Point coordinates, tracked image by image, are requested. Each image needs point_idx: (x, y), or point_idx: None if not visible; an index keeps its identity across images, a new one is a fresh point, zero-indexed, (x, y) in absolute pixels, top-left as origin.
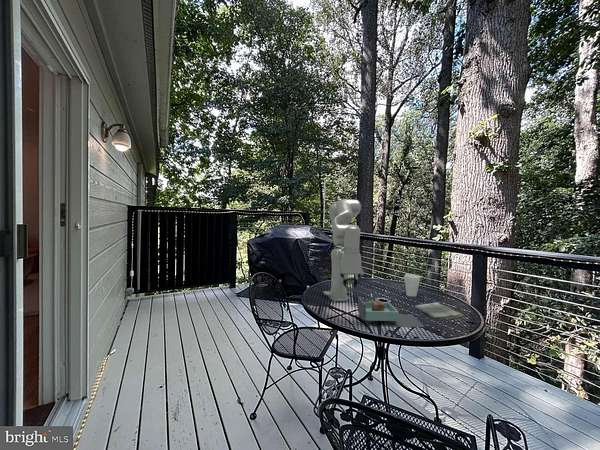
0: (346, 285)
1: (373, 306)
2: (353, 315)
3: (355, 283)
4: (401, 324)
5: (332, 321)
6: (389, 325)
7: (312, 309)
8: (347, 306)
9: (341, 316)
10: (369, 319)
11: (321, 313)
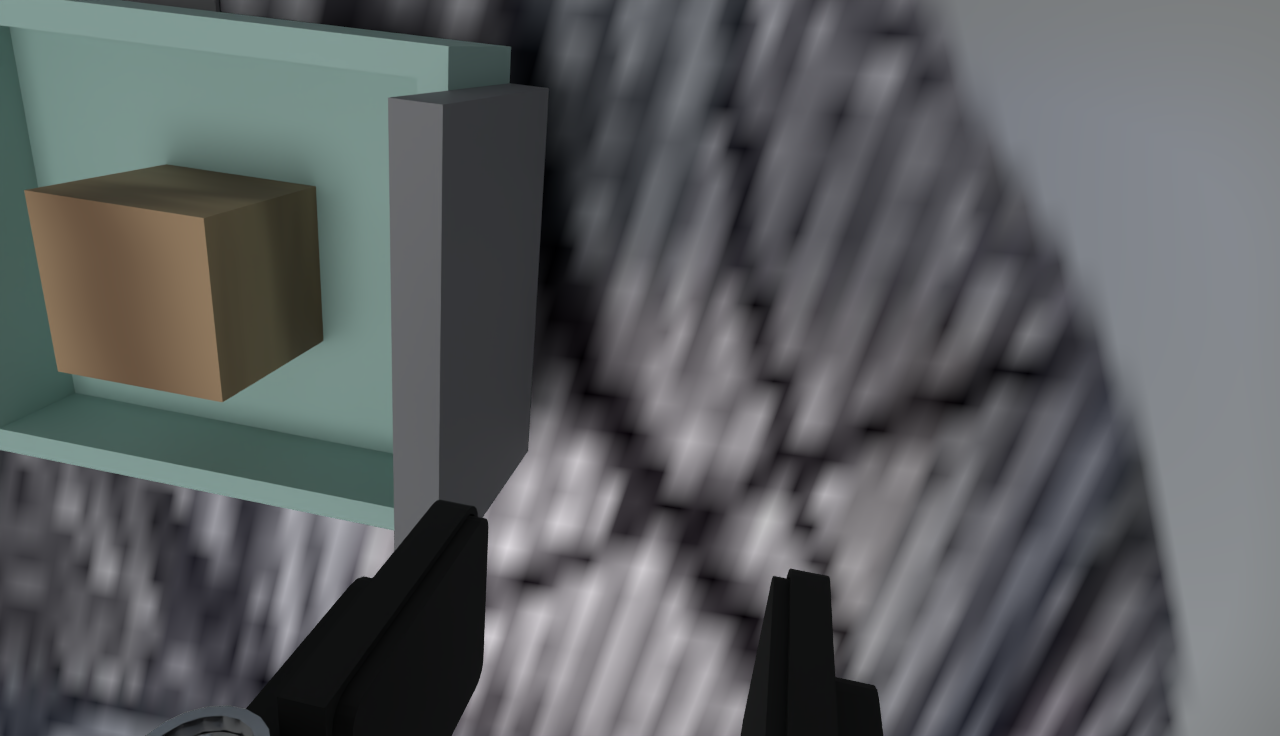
0: (780, 606)
1: (256, 285)
2: (603, 423)
3: (396, 581)
4: None
5: (1014, 244)
6: (194, 1)
7: (1140, 707)
8: (591, 708)
9: (792, 412)
10: (443, 39)
11: (1062, 556)
